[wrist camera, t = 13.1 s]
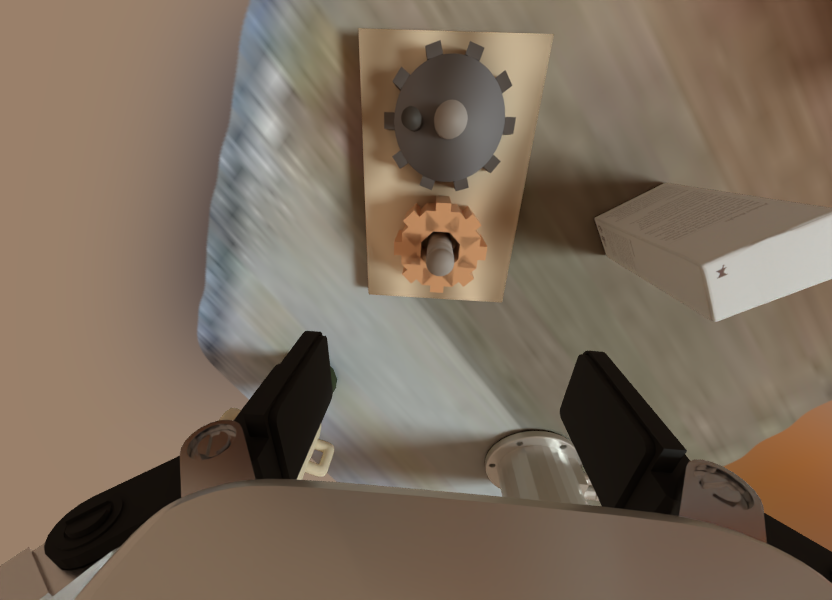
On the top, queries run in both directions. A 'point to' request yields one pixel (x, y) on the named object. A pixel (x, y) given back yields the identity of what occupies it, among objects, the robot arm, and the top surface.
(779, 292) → the skincare box
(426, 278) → the loose gear
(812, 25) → the top surface
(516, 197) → the gear board
